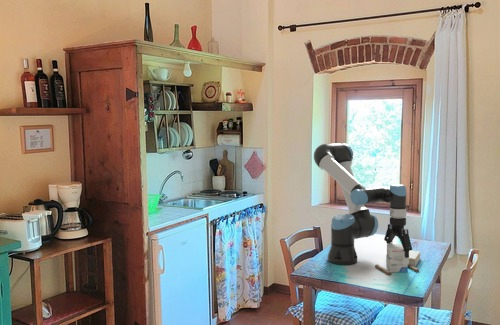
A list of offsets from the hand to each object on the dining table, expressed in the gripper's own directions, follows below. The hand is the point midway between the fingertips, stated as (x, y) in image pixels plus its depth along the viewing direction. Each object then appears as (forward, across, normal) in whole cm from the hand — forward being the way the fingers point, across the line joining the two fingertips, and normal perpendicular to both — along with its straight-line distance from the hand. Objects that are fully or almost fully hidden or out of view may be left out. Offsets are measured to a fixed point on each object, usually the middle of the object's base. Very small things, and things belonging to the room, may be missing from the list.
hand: (397, 259), depth 223 cm
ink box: (+5, 0, 0) cm, 5 cm away
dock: (+5, -11, +11) cm, 16 cm away
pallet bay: (+5, 0, 0) cm, 5 cm away
